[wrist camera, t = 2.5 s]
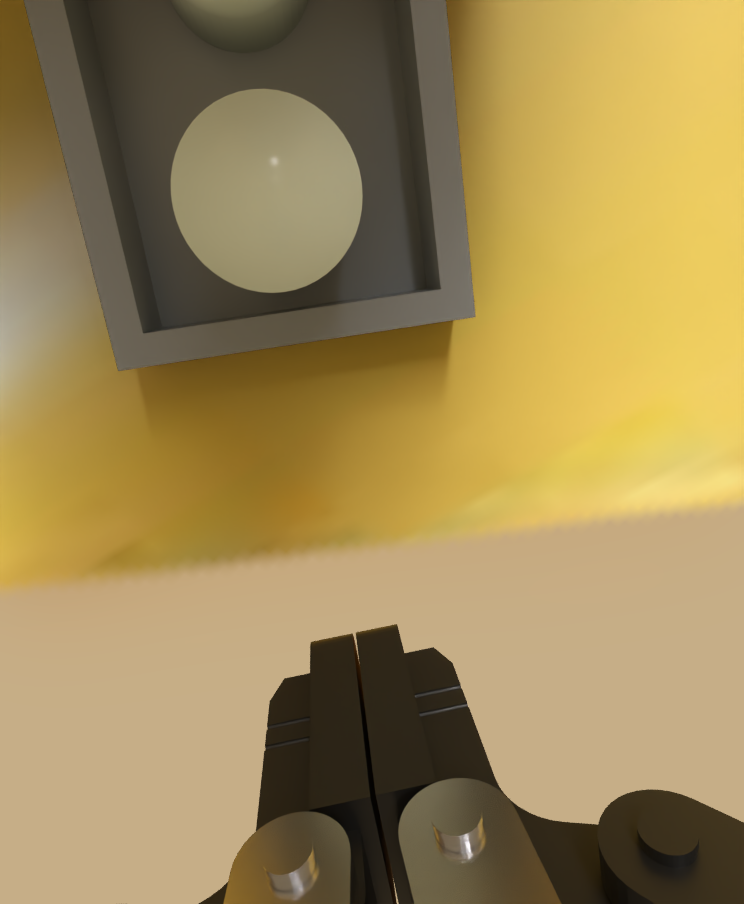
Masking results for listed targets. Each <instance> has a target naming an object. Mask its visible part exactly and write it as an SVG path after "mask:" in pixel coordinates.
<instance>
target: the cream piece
mask: <svg viewBox="0 0 744 904" xmlns="http://www.w3.org/2000/svg"><path fill="white" fill-rule="evenodd" d="M171 198H172V205H173V210H174V214H175V217H176V221H177V223H178V226H179V228H180V231H181V233H182V235H183V237H184V238H185V240H186V242H187V244H188V245H189V247H190V248H191V250H192V251H193V252H194V254H195V255H196V256H197V257H198V258H199V259H200V261H201V262H202V263H203V264H204V265H205V266H206V267H208V268H209V269H210V270H211V271H212V272H213V273H215V274H216V275H218V276H219V277H221V278H222V279H224V280H226V281H228V282H230V283H232V284H234V285H236V286H239V287H242V288H244V289H247V290H252V291H257V292H266V293H278V292H287V291H292V290H296V289H299V288H302V287H305V286H307V285H309V284H311V283H313V282H315V281H317V280H319V279H320V278H321V277H323V276H324V275H326V274H327V273H328V272H329V271H330V270H331V269H333V268H334V267H335V266H336V265H337V264H338V262H339V261H340V260H341V259H342V258H343V256H344V255H345V253H346V252H347V250H348V249H349V247H350V245H351V243H352V241H353V239H354V237H355V235H356V232H357V228H358V225H359V222H360V217H361V211H362V198H363V194H362V181H361V176H360V171H359V167H358V164H357V161H356V158H355V155H354V153H353V151H352V149H351V146H350V144H349V143H348V141H347V139H346V138H345V136H344V134H343V133H342V132H341V130H340V129H339V128H338V127H337V125H336V124H335V123H334V122H333V121H332V120H331V119H330V118H329V117H328V116H327V115H326V114H325V113H324V112H323V111H321V110H320V109H319V108H317V107H316V106H315V105H313V104H312V103H310V102H308V101H306V100H305V99H303V98H301V97H298V96H296V95H293V94H291V93H287V92H283V91H279V90H272V89H249V90H244V91H239V92H236V93H233V94H230V95H227V96H225V97H223V98H221V99H219V100H217V101H215V102H214V103H212V104H211V105H210V106H208V107H207V108H206V109H204V110H203V111H202V112H201V113H200V114H199V115H198V116H197V117H196V118H195V119H194V120H193V122H192V123H191V124H190V126H189V127H188V128H187V130H186V131H185V133H184V135H183V137H182V139H181V140H180V143H179V145H178V148H177V150H176V153H175V157H174V161H173V165H172V172H171Z"/></svg>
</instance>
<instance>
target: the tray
mask: <svg viewBox="0 0 744 904" xmlns="http://www.w3.org/2000/svg"><path fill="white" fill-rule="evenodd" d="M24 4H25V8H26V11H27V15H28V19H29V23H30V27H31V31H32V35H33V39H34V43H35V47H36V51H37V55H38V59H39V62H40V66H41V70H42V74H43V78H44V82H45V86H46V90H47V94H48V98H49V102H50V106H51V109H52V113H53V117H54V121H55V125H56V129H57V133H58V137H59V141H60V145H61V149H62V153H63V157H64V160H65V164H66V168H67V172H68V176H69V180H70V184H71V188H72V192H73V196H74V200H75V204H76V207H77V211H78V215H79V219H80V223H81V227H82V231H83V235H84V239H85V243H86V247H87V251H88V255H89V258H90V262H91V266H92V270H93V274H94V278H95V282H96V286H97V290H98V294H99V298H100V302H101V305H102V309H103V313H104V317H105V321H106V325H107V329H108V333H109V337H110V341H111V345H112V349H113V353H114V356H115V360H116V364H117V368H118V371H122V370H129V369H135V368H142V367H148V366H155V365H162V364H168V363H175V362H181V361H188V360H195V359H201V358H208V357H214V356H221V355H228V354H234V353H241V352H247V351H254V350H261V349H267V348H274V347H280V346H287V345H294V344H300V343H307V342H313V341H320V340H327V339H333V338H340V337H346V336H353V335H359V334H366V333H373V332H379V331H386V330H392V329H399V328H406V327H412V326H419V325H425V324H432V323H439V322H445V321H452V320H458V319H465V318H472V317H475V307H474V296H473V285H472V275H471V264H470V253H469V242H468V232H467V221H466V210H465V200H464V189H463V178H462V167H461V157H460V146H459V135H458V124H457V114H456V103H455V92H454V81H453V71H452V60H451V49H450V38H449V28H448V17H447V6H446V0H309V1H308V4H307V7H306V9H305V12H304V14H303V16H302V18H301V19H300V21H299V23H298V24H297V25H296V27H295V28H294V29H293V31H292V32H291V33H290V34H289V35H288V36H287V37H286V38H284V39H283V40H282V41H280V42H279V43H277V44H276V45H274V46H272V47H270V48H267V49H264V50H262V51H257V52H252V53H237V52H230V51H226V50H222V49H220V48H217V47H215V46H213V45H211V44H209V43H207V42H206V41H204V40H203V39H201V38H200V37H199V36H197V35H196V34H195V33H194V32H193V31H192V30H191V29H190V28H188V27H187V25H186V24H185V23H184V22H183V20H182V19H181V18H180V16H179V15H178V13H177V12H176V10H175V9H174V7H173V5H172V3H171V1H170V0H24ZM249 89H272V90H279V91H283V92H287V93H291V94H293V95H296V96H298V97H301V98H303V99H305V100H306V101H308V102H310V103H312V104H313V105H315V106H316V107H317V108H319V109H320V110H321V111H323V112H324V113H325V114H326V115H327V116H328V117H329V118H330V119H331V120H332V121H333V122H334V123H335V124H336V125H337V127H338V128H339V129H340V130H341V132H342V133H343V134H344V136H345V138H346V139H347V141H348V143H349V144H350V146H351V149H352V151H353V153H354V155H355V158H356V161H357V164H358V167H359V171H360V176H361V181H362V194H363V198H362V211H361V217H360V222H359V225H358V228H357V232H356V235H355V237H354V239H353V241H352V243H351V245H350V247H349V249H348V250H347V252H346V253H345V255H344V256H343V258H342V259H341V260H340V261H339V262H338V264H337V265H336V266H335V267H334V268H333V269H331V270H330V271H329V272H328V273H327V274H326V275H324V276H323V277H321V278H320V279H319V280H317V281H315V282H313V283H311V284H309V285H307V286H305V287H302V288H299V289H296V290H292V291H287V292H278V293H266V292H257V291H252V290H247V289H244V288H242V287H239V286H236V285H234V284H232V283H230V282H228V281H226V280H224V279H222V278H221V277H219V276H218V275H216V274H215V273H213V272H212V271H211V270H210V269H209V268H208V267H206V266H205V265H204V264H203V263H202V262H201V261H200V259H199V258H198V257H197V256H196V255H195V254H194V252H193V251H192V250H191V248H190V247H189V245H188V244H187V242H186V240H185V238H184V237H183V235H182V233H181V231H180V228H179V226H178V223H177V221H176V217H175V214H174V210H173V205H172V198H171V172H172V165H173V161H174V157H175V153H176V150H177V148H178V145H179V143H180V140H181V139H182V137H183V135H184V133H185V131H186V130H187V128H188V127H189V126H190V124H191V123H192V122H193V120H194V119H195V118H196V117H197V116H198V115H199V114H200V113H201V112H202V111H203V110H204V109H206V108H207V107H208V106H210V105H211V104H212V103H214V102H215V101H217V100H219V99H221V98H223V97H225V96H227V95H230V94H233V93H236V92H239V91H244V90H249Z"/></svg>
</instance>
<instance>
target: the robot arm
mask: <svg viewBox="0 0 744 904" xmlns="http://www.w3.org/2000/svg"><path fill="white" fill-rule="evenodd" d="M356 638H357V645H358V655H359V660H358V655H357V650H356V645H355V641H354V637H353V634H348V635H343V636H338V637H333V638H328V639H323V640H319V641H314V642H311V646H310V650H311V651H310V673H309V674H305V675H300V676H295V677H290V678H285V679H284V680H283V682H282V683H281V685H280V686H279V688H278V690H277V691H276V693H275V694H274V696H273V697H272V699H271V700H270V705H269V714H268V723H267V727H268V730H267V732H266V742H265V748H266V751H264V761H263V771H262V780H261V789H260V798H259V808H258V818H257V827H256V832H255V833H254V834H253V835H252V836H251V837H250V838H249V839H248V840H247V841H246V842H245V843H244V845H243V846H242V848H241V849H240V851H239V852H238V854H237V856H236V858H235V860H234V862H233V865H232V868H231V872H230V876H229V881H228V882H227V883H226V884H225V885H224V886H223V887H222V888H221V889H220V890H218V891H217V892H216V893H214V894H213V895H212V896H211V897H209V898H207V899H206V900H204V901H202V902H201V903H199V904H397V903H396V896H395V888H396V893H397V897H398V902H399V904H744V823H743V822H741V821H739V820H737V819H735V818H732V817H730V816H728V815H726V814H724V813H722V812H720V811H718V810H715V809H713V808H711V807H709V806H707V805H705V804H703V803H700V802H698V801H696V800H694V799H692V798H689V797H687V796H684V795H681V794H677V793H674V792H670V791H663V790H641V791H635V792H631V793H627V794H625V795H623V796H621V797H618V798H617V799H616V800H614V801H613V802H611V803H610V805H608V807H607V808H606V809H605V810H604V812H603V814H602V815H601V817H600V821H599V824H598V825H595V824H582V823H569V822H559V821H552V820H548V819H544V818H541V817H538V816H536V815H533V814H531V813H529V812H527V811H525V810H523V809H521V808H520V807H518V806H517V805H516V804H514V803H513V802H512V801H511V800H510V799H509V798H508V797H507V796H506V795H505V794H504V793H503V791H502V790H501V789H500V787H499V785H498V783H497V781H496V779H495V777H494V774H493V772H492V769H491V766H490V763H489V761H488V758H487V755H486V752H485V750H484V747H483V744H482V742H481V739H480V736H479V734H478V731H477V728H476V726H475V723H474V720H473V717H472V715H471V712H470V709H469V707H468V705H467V701H466V698H465V696H464V693H463V690H462V689H461V686H460V682H459V680H458V677H457V674H456V671H455V669H454V666H453V663H452V662H451V661H449V660H448V659H447V658H446V657H444V656H443V655H442V654H441V653H440V652H438V651H437V650H436V649H434V648H428V649H424V650H419V651H415V652H409V653H404V650H403V646H402V642H401V639H400V634H399V630H398V626H397V624H396V625H391V626H386V627H381V628H376V629H371V630H367V631H362V632H357V633H356ZM359 663H360V665H359ZM393 879H394V881H393ZM394 883H395V888H394Z"/></svg>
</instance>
